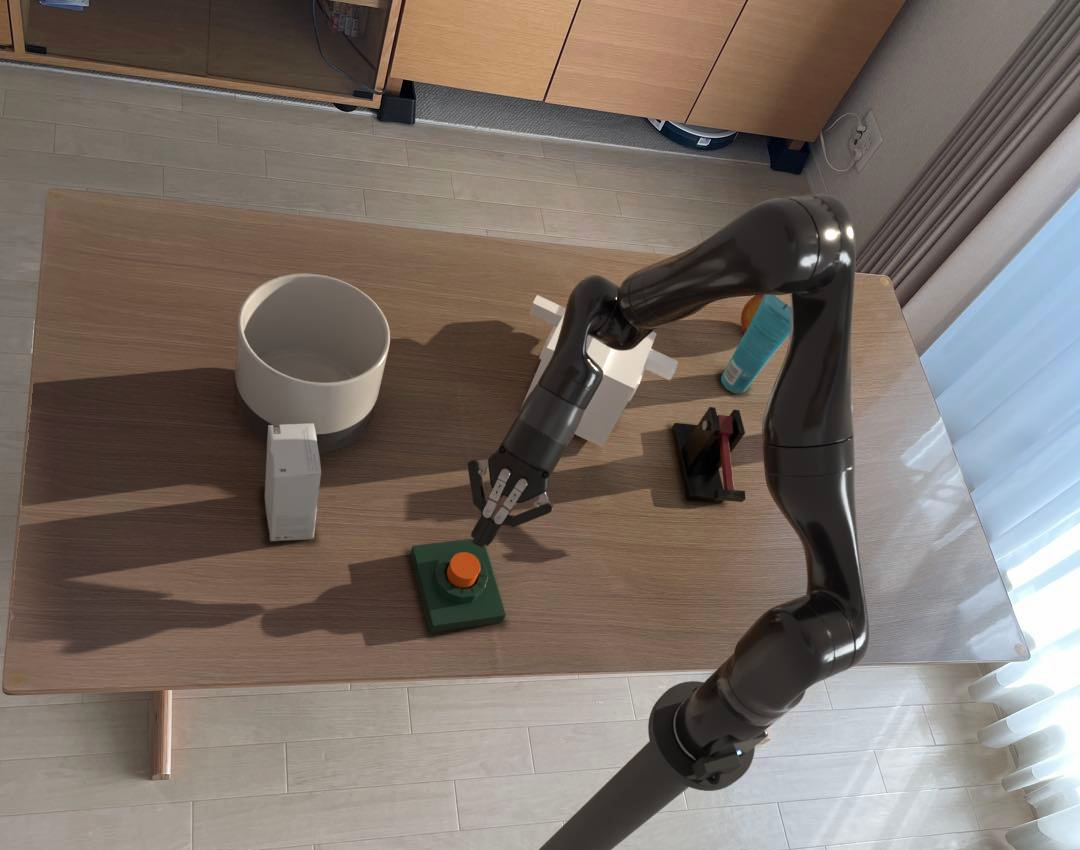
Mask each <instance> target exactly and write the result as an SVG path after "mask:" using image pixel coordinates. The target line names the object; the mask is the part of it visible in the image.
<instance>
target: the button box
mask: <svg viewBox="0 0 1080 850" xmlns="http://www.w3.org/2000/svg"><path fill="white" fill-rule="evenodd" d="M473 539H474V538H470V539H469V538H468V539H459V540H452V541H451V540H450V541H442V542H434V543H433V542H432V543H425V544H424V543H423V544H416V545H414V544H413V545H412V546H411V550H410V552H409V556H410V560H411V563H412V567H413V571H414V575H415V580H416V583H417V588H418V591H419V595H420V599H421V603H422V607H423V611H424V616H425V619H426V623H427V627H428V630H429V633H430V634H432V633H440V632H446V631H453V630H459V629H467V628H474V627H479V626H480V627H481V626H487V625H495V624H501V623H503V622H504V619H505V618H506V615H507V614H506V610H505V608H504V604H503V600H502V597H501V594H500V590H499V586H498V584H497V580H496V577H495V574H494V569H493V567H492V563H491V561H490V557H489V553H488V550H487V546H486V545H484V546H483V547H482V548H481V547H479V546H478V545H476V544H474V543H472V541H473ZM461 552H467V553H470V554H472V555H474V556H475V557H476V558H477V559H478V561H479V563H480V572H479V574H478V576H477V578H476V580H475V582H474V584H473V585H472V586H470V587H468V588H458V587H455V586H454V585H452V584H451V583H450V582H449V580H448V579H447V575H446V572H447V568H448V566H449V563H450V561H451V559H452V557H453V556H454V555H456V554H457V553H461Z"/></svg>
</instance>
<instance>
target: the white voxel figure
mask: <svg viewBox="0 0 1080 850" xmlns="http://www.w3.org/2000/svg"><path fill="white" fill-rule="evenodd" d="M565 309H566V307H565V306H564V307H563V306H562V305H561V304H557V303H556V302H553V301H551V300H550V299H547V298H545V297H543V296H541V295H539V294H537V295H536V296H535V298H534V300H533V301H532V304H531V306H530V309H529V311H528V315H530V316H532V317H534V318H536V319H538V320H540V321H542V322H545V323H546V324H549V325H551V326H553V327H552V329H551V330H550V333H549V334H548V336H547V339H546V341H545V343H544V346H543V348H542V350H541V352H540V355H539V357H538V360H540V363H539V364H538V366H537V369H536V372H535V374H534V377H533V379H532V381H531V383H530V386H529V388H528V391H527V393H526V395H525V397H524V400H523V402H522V405H521V407H520V409H521V408H522V406H523V404H524V402H525V400H526V399H527V397H528V396H529V394H530V393H531V392H532V391H533V389H534V388H535V386H536V385H537V384H538V381H539V379H540V378H541V376H542V374H543V372H544V370H545V369H546V367H547V365H548V363H549V362H550V360H551V358H552V356H553V353H554V350H555V347H556V344H557V341H558V337H559V334H560V330H561V326H562V322H563V318H564V314H565ZM657 334H658V333H657V332H654V331H653V332H652V333H651V334H649V335H648V336H647V337H646V338H645V339H643V340H642V341H641V342H640V343H639V344H638V345H637V346H636V347H635V348H633V349H631V350H627V351H618V350H614V349H611V348H609V347H608V346H606V345H604V344H602V343H601V342H599V341H597V340H596V339H594V338H592V337H591V336H589V335H588V337H587V345H586V350H587V353H588V355H589V356H590V357H591V358H592V359H593V360H594V361H595V362H596V363H597V364H598V365H599V366H600V367H601V368H602V370H603V373H604V376H603V379H602V382H601V384H600V385H599V387H598V389H597V391H596V392H595V394H594V396H593V398H592V400H591V401H590V403H589V405H588V407H587V408H586V410H584V411H585V412H584V414H583V416H582V419H581V421H580V424H579V426H578V428H577V430H576V432H575V433H574V436H575V435H576V436H577V437H578V438H579V437H580V438H581V439H584V440H586V441H588V442H590V443H592V444H594V445H596V446H599V447H600V448H604V447H605V446H606V443H607V442H608V440H609V438H610V437H611V434H612V432H613V431H614V430H615V427H616V425H617V423H618V422H619V419H620V418H621V416H622V414H623V412H624V410H625V408H626V406H627V405H628V403H629V402H631V401H632V398H633V397H634V395H635V393H636V391H637V389H638V387H639V385H640V383H641V381H642V378H643V376H644V373H645V371H646V370H647V371H648V372H650V373H652V374H655V375H656V376H659V377H661V378H663V379H666V381H667V380H668V381H671V379H672V378H673V376H674V374H675V373H676V371H677V368H678V366H679V362H680V361H678V360H676V359H674V358H672V357H670V356H668V355H665V354H664V353H662V352H659V351H658V350H655V349H653V348H652V347H653V344H654V342H655V340H656V337H657Z"/></svg>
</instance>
